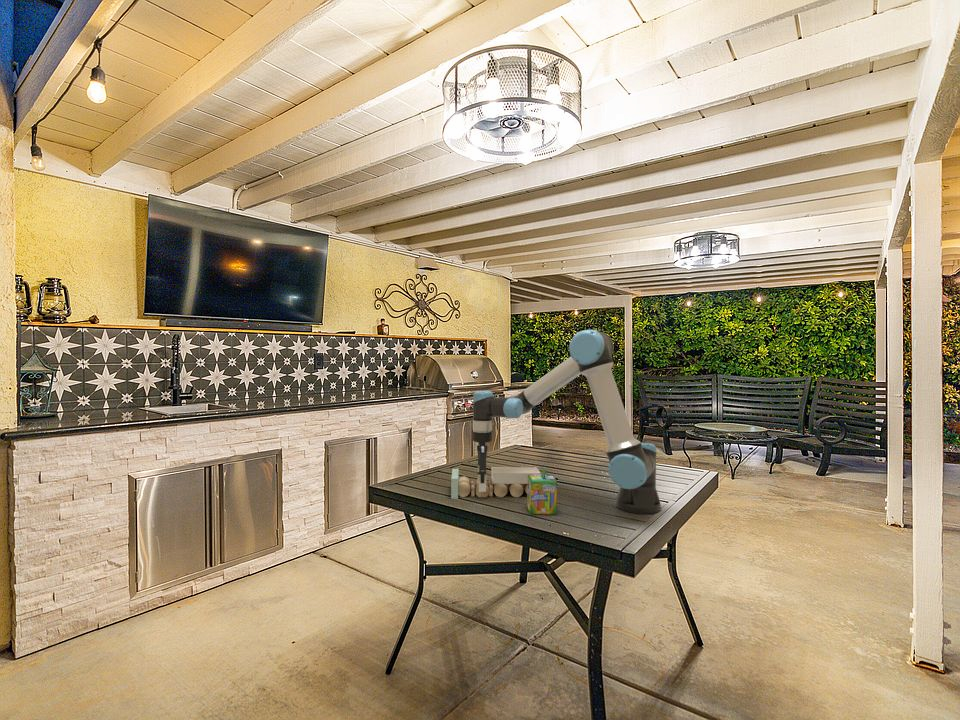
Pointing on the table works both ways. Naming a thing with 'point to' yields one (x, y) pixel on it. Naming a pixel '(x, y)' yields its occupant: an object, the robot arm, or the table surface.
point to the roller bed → (490, 488)
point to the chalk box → (542, 493)
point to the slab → (512, 474)
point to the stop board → (454, 483)
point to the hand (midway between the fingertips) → (481, 487)
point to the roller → (481, 494)
